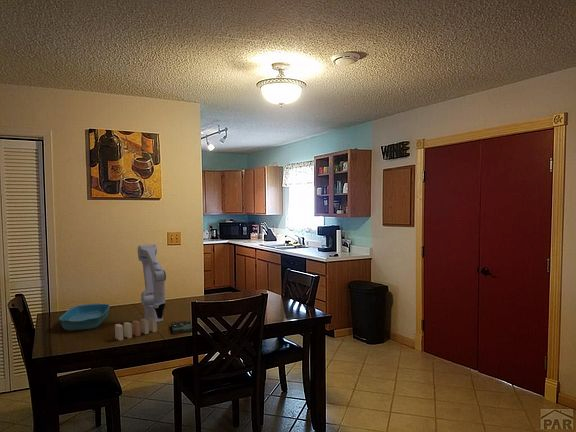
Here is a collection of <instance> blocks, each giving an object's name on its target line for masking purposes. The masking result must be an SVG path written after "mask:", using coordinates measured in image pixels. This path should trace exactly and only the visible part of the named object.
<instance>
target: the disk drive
mask: <svg viewBox="0 0 576 432" xmlns="http://www.w3.org/2000/svg"><path fill="white" fill-rule="evenodd" d="M170 328H171V332H172V335H178V334H186V333H193V332H192V328H193V326H192V323H191V321H190V320H184V321H178V322H173V321H172V322H170Z"/></svg>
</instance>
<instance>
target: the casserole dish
mask: <svg viewBox="0 0 576 432" xmlns="http://www.w3.org/2000/svg"><path fill="white" fill-rule="evenodd" d="M110 306H111V305H110V304H107V303H86V304H80V305H75V306H72V307H70V308H69V309H68V310H66V312H65V313H63V314H62V315H61V316H59V318H58V319H59V322H60V324H61V327H62V328H63V330H65V331H80V330H83V331H84V330H91V329H95V328H98V327H99V326H100V325H101V324H102V323H103V321H104V320H105V319H106V318H107V316H108V315H109V310H110V309H111V308H110Z"/></svg>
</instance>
